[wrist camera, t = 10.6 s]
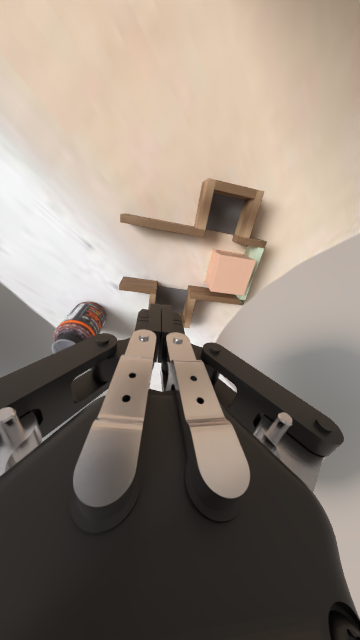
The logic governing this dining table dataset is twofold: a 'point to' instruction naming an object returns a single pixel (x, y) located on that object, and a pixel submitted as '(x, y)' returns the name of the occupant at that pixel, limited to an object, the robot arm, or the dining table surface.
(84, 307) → the supplement bottle
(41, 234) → the dining table surface
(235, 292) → the block
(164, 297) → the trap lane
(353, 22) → the dining table surface
